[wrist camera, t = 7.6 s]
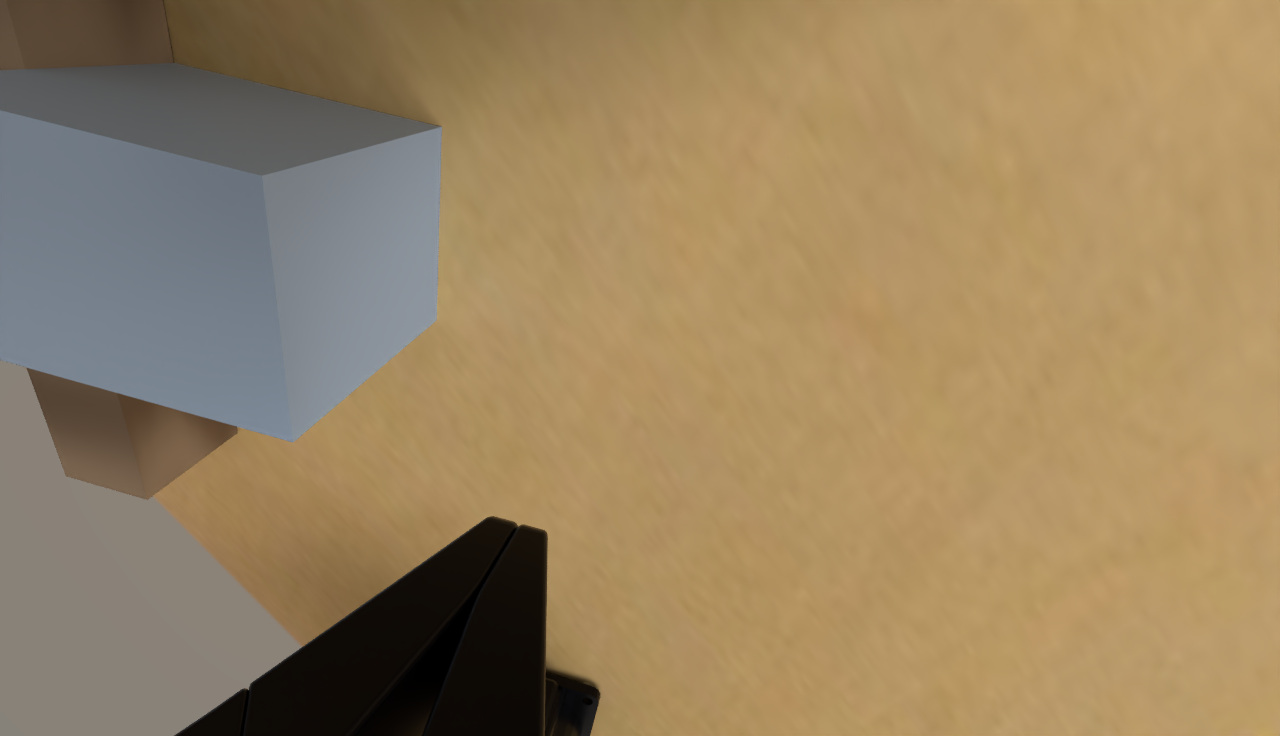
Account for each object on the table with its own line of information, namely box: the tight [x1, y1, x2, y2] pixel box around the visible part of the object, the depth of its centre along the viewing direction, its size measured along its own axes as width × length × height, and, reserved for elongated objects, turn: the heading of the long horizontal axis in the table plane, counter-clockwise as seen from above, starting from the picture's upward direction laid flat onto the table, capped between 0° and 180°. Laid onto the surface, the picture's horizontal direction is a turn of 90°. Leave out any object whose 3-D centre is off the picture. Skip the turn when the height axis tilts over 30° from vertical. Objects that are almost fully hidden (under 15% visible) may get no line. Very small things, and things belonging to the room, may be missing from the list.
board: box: [0, 0, 237, 499], centre depth 17 cm, size 20×3×4 cm, turn 169°
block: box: [0, 63, 442, 442], centre depth 16 cm, size 6×8×7 cm
